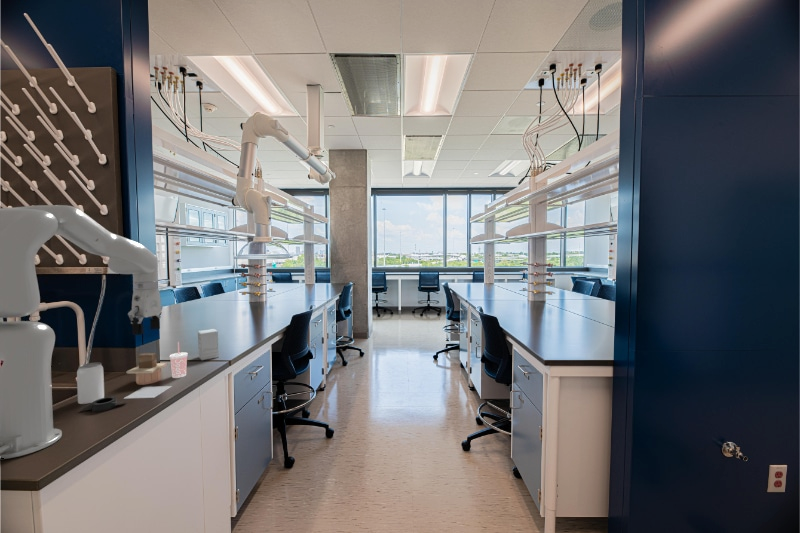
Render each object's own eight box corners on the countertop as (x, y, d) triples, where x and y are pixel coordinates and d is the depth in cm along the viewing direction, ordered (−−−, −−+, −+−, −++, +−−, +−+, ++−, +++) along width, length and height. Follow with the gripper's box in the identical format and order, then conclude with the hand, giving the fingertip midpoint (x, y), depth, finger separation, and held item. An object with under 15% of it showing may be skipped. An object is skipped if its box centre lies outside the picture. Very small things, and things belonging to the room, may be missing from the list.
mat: (154, 398, 114) (154, 397, 114) (123, 399, 113) (123, 398, 113) (172, 387, 124) (172, 386, 124) (143, 388, 123) (143, 386, 123)
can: (88, 405, 109) (87, 368, 108) (72, 404, 110) (71, 367, 109) (109, 397, 115) (108, 362, 114) (94, 396, 116) (92, 361, 116)
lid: (152, 372, 124) (151, 357, 124) (126, 373, 124) (126, 357, 124) (167, 365, 133) (167, 350, 133) (144, 365, 133) (143, 350, 133)
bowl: (152, 385, 125) (152, 372, 125) (131, 386, 125) (130, 372, 125) (165, 378, 133) (165, 365, 133) (145, 378, 132) (145, 366, 132)
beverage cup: (167, 380, 131) (166, 344, 130) (173, 374, 137) (172, 340, 136) (185, 378, 132) (183, 343, 132) (190, 373, 138) (189, 339, 138)
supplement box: (215, 354, 165) (214, 328, 165) (218, 357, 160) (218, 330, 159) (198, 357, 161) (197, 330, 160) (200, 360, 155) (200, 333, 155)
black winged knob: (102, 403, 111) (102, 394, 111) (130, 404, 110) (129, 396, 110) (77, 414, 103) (77, 405, 103) (107, 416, 102) (106, 406, 102)
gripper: (140, 288, 119) (141, 336, 119) (170, 284, 136) (170, 327, 137) (117, 288, 119) (118, 337, 119) (150, 285, 136) (151, 327, 136)
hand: (146, 331), depth 128 cm, fingers open, 9 cm apart
